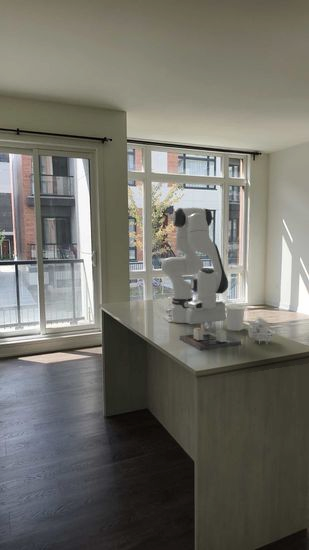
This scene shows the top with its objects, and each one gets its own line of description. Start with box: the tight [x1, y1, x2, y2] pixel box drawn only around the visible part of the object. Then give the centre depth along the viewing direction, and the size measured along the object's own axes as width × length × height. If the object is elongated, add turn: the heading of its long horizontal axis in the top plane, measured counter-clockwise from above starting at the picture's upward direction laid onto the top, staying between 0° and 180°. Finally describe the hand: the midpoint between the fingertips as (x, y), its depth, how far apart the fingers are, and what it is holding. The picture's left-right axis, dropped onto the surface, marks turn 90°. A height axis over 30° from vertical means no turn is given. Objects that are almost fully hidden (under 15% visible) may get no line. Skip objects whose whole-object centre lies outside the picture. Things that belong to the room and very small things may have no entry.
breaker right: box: [215, 328, 227, 342], centre depth 164 cm, size 4×3×5 cm
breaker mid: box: [193, 327, 203, 340], centre depth 167 cm, size 4×3×5 cm
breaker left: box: [200, 322, 211, 335], centre depth 177 cm, size 4×3×5 cm
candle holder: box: [225, 305, 245, 332], centre depth 194 cm, size 10×10×12 cm
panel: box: [179, 331, 242, 351], centre depth 170 cm, size 20×22×2 cm
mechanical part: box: [248, 316, 276, 345], centre depth 168 cm, size 11×12×12 cm
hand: (206, 331), depth 170 cm, fingers closed
